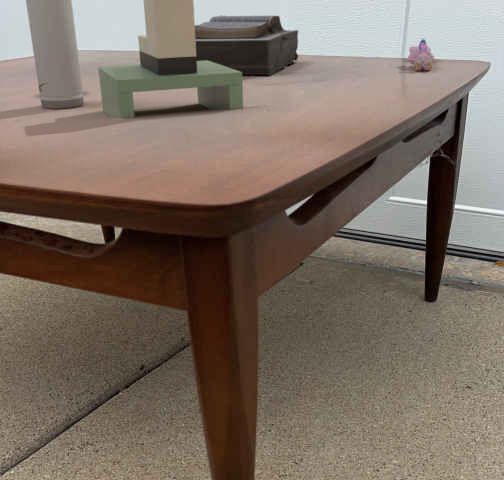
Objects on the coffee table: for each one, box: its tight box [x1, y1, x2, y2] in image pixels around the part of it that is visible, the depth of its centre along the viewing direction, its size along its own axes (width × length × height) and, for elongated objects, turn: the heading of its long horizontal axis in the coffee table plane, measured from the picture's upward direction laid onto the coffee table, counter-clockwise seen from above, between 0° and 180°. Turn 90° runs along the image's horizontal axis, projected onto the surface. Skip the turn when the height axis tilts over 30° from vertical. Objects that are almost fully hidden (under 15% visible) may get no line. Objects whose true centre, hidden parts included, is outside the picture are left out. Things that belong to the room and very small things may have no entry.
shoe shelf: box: [97, 60, 244, 119], centre depth 93 cm, size 16×16×6 cm
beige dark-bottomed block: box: [137, 0, 197, 75], centre depth 90 cm, size 5×12×10 cm, turn 19°
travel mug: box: [25, 0, 85, 110], centre depth 99 cm, size 6×7×20 cm
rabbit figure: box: [405, 38, 440, 73], centre depth 135 cm, size 6×6×15 cm
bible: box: [195, 15, 299, 76], centre depth 140 cm, size 23×27×10 cm
